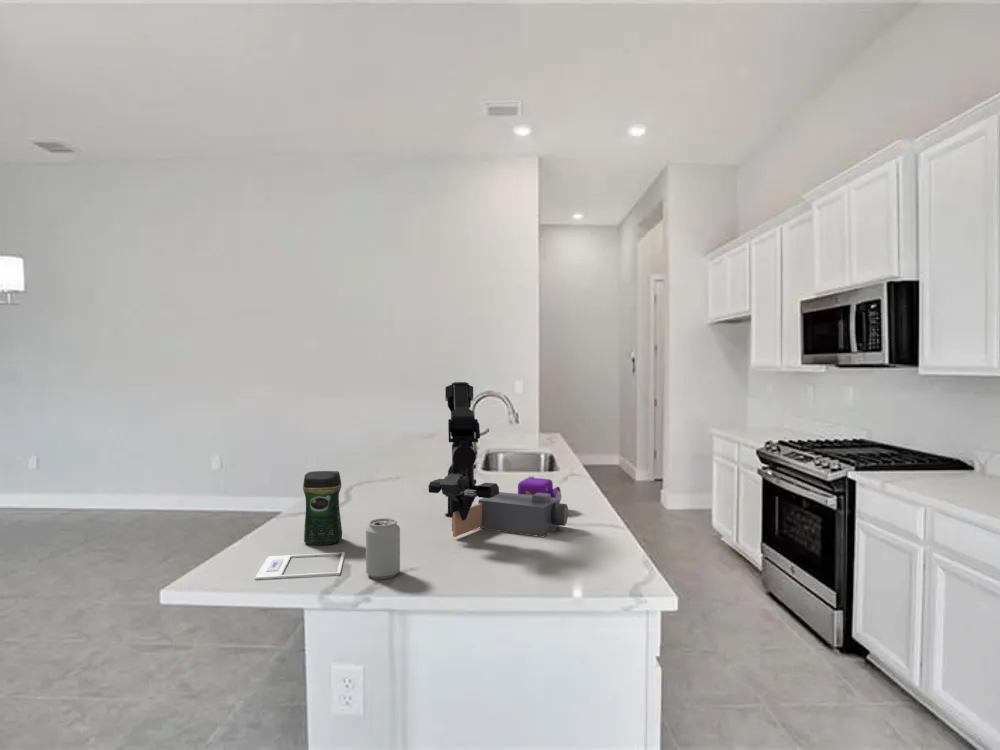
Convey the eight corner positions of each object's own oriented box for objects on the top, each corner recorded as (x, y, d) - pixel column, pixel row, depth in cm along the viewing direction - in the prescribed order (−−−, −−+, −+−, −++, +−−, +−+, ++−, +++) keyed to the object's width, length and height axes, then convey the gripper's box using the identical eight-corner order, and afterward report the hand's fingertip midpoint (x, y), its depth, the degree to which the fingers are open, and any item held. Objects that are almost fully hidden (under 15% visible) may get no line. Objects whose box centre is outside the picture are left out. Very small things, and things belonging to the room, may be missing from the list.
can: (368, 568, 140) (368, 516, 140) (401, 567, 141) (401, 516, 140) (363, 580, 133) (363, 525, 132) (398, 579, 133) (398, 525, 133)
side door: (477, 525, 174) (477, 502, 173) (482, 526, 173) (482, 503, 173) (450, 535, 163) (450, 512, 163) (455, 537, 162) (455, 513, 162)
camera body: (478, 527, 174) (478, 494, 173) (496, 518, 185) (497, 486, 184) (554, 538, 164) (554, 503, 164) (569, 527, 175) (569, 494, 174)
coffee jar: (344, 536, 165) (343, 468, 165) (338, 545, 158) (338, 473, 157) (307, 537, 165) (307, 468, 164) (300, 546, 157) (299, 474, 156)
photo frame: (268, 555, 148) (344, 551, 151) (268, 560, 148) (344, 555, 151) (254, 576, 133) (339, 571, 136) (254, 581, 133) (339, 576, 136)
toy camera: (559, 515, 188) (560, 483, 188) (516, 513, 191) (516, 481, 190) (563, 507, 199) (563, 476, 198) (521, 504, 201) (521, 474, 201)
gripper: (416, 464, 159) (417, 524, 160) (480, 469, 151) (481, 532, 152) (438, 458, 169) (439, 514, 170) (499, 462, 161) (500, 520, 162)
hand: (463, 520), depth 163 cm, fingers closed
